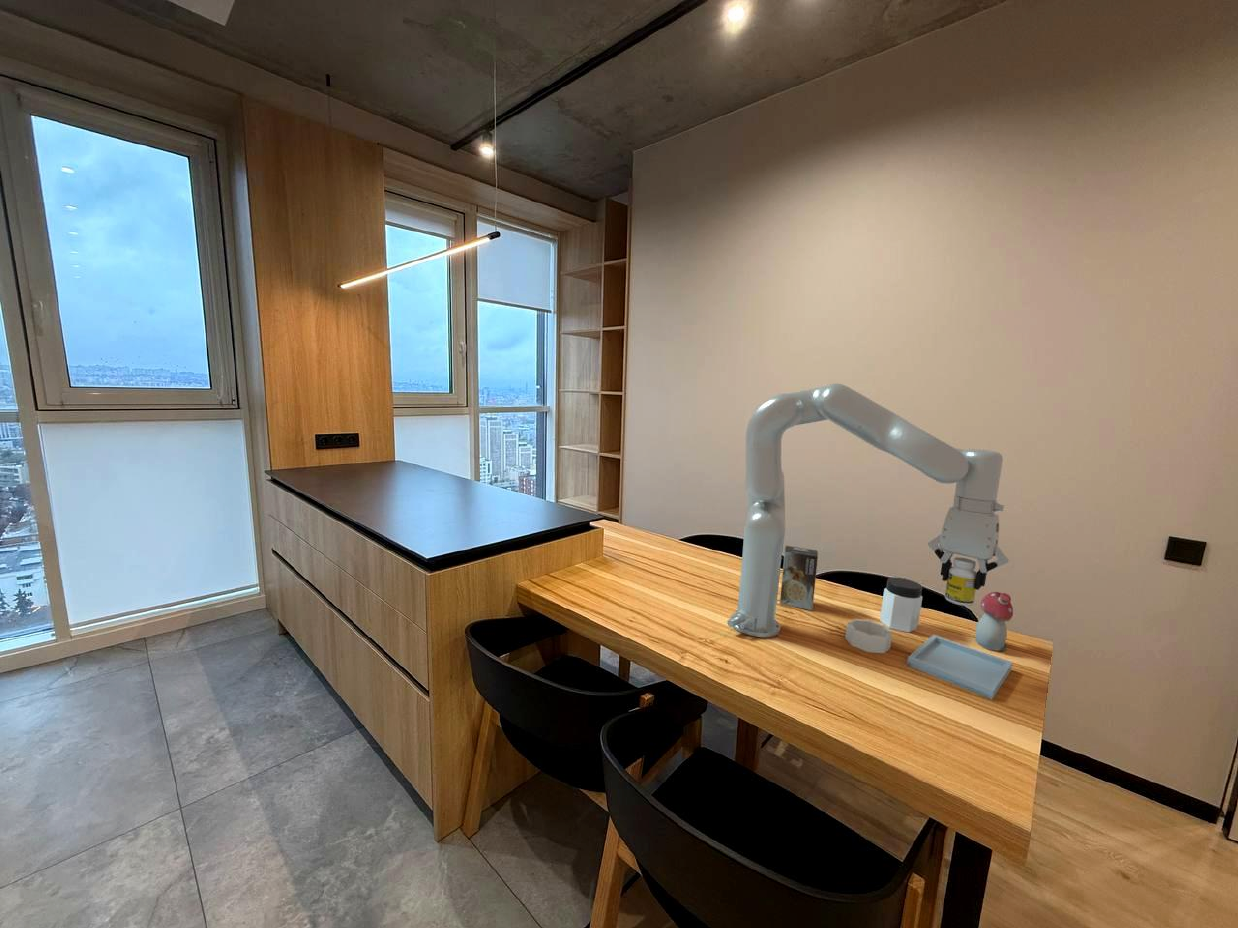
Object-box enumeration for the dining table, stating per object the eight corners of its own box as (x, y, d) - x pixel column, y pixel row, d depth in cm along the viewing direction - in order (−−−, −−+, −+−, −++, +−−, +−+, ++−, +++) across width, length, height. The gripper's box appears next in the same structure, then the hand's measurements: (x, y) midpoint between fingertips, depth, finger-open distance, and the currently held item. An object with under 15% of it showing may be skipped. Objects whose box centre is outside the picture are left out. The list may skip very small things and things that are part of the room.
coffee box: (812, 602, 145) (819, 550, 143) (812, 611, 139) (819, 556, 137) (780, 596, 148) (785, 544, 146) (778, 604, 142) (784, 550, 140)
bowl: (879, 656, 116) (881, 641, 115) (840, 640, 122) (842, 625, 122) (894, 645, 122) (896, 630, 121) (856, 630, 129) (858, 616, 128)
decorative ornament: (1006, 657, 119) (1017, 598, 117) (973, 647, 123) (983, 590, 121) (1005, 642, 127) (1015, 587, 124) (974, 634, 130) (983, 580, 128)
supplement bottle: (938, 596, 114) (944, 555, 113) (960, 596, 115) (966, 556, 113) (956, 606, 109) (963, 564, 107) (979, 606, 109) (986, 564, 108)
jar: (905, 635, 128) (912, 591, 126) (874, 622, 134) (880, 580, 132) (922, 627, 132) (929, 585, 131) (891, 615, 139) (898, 575, 137)
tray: (992, 699, 101) (993, 690, 101) (907, 664, 113) (908, 656, 113) (1010, 670, 113) (1012, 662, 113) (932, 641, 125) (933, 634, 124)
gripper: (1026, 511, 105) (1012, 592, 107) (934, 496, 117) (924, 569, 120) (1019, 516, 100) (1004, 600, 102) (924, 499, 112) (913, 575, 115)
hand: (961, 582), depth 111 cm, fingers closed on supplement bottle, 5 cm apart
